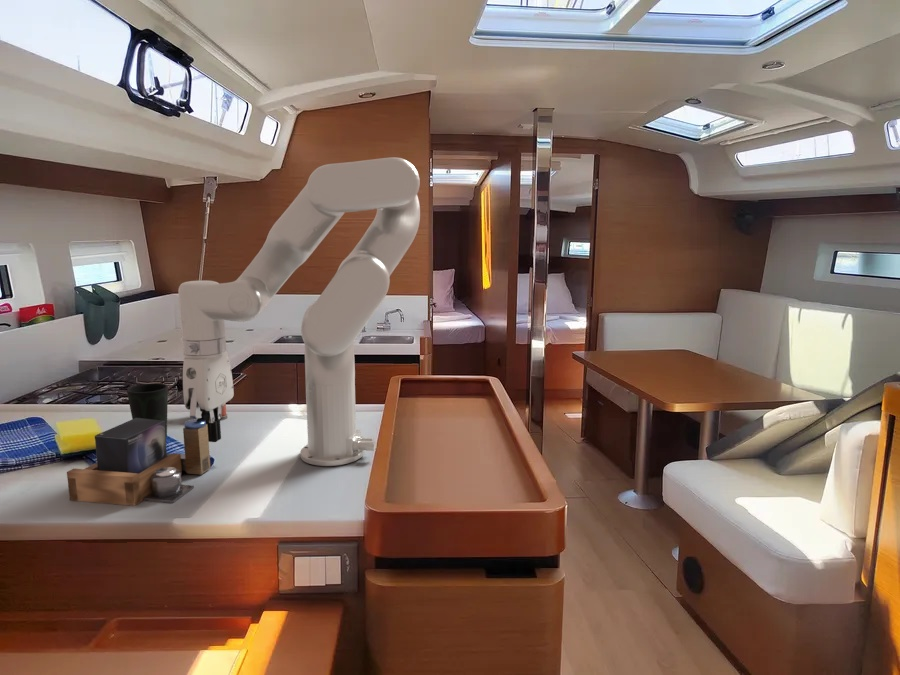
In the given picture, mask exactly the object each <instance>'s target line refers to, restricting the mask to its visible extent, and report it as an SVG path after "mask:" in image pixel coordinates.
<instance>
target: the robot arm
mask: <svg viewBox="0 0 900 675" xmlns="http://www.w3.org/2000/svg"><path fill="white" fill-rule="evenodd" d="M420 181H421V180H420V175H419V172H418V170H417V169H416V167H415V166H414V164H412V163H411V162H410V161H408V159H407V160H406V159H404V158H402V157H394V156H393V157H391V156H389V157H383V158H381V157H380V158H375V159H374V158H373V159H365V160H358V161H357V160H355V161H349V162H348V161H347V162H338V163H327V164H323V165H321V166H318V167H317V168H315V169H314V170H313V171H312V173H310V175H309V177H308V179H307V183H306V184H305V186H304V187H303V188H302V189H301V191H300V192H299V193H298V194H297V196H296V197H295V198H294V199H293V201H292V202H291V203H290V204H289V205H288V207H287V208H286V209H285V211H284V212H283V213H282V214H281V216H280V217H279V218H278V219H277V220H276V221H275V222H274V223H273V225H272V227H271V228H270V230H269V232H268V234H267V237H266V240H265V242H264V243H263V246H262V247H261V248H260V250H259V252H258V253H257V254H256V255H255V257H254V258H253V259H252V260H251V262H250V263H249V265H247V266H246V268H245V269H244V271H243V272H242V273H241V274H240V276H238V278H237V279H236V280H233V281H231V282H230V281H229V282H223V283H222V282H221V283H219V282H217V281H214V280H190V281H184V282H182V283H181V284H180V285H179V286H178V294H177V295H178V305H179V306H178V307H179V315H180V316H179V317H180V318H179V319H180V327H181V328H180V329H181V340H182V341H181V343H182V354H183V365H182V393H183V394H182V395H183V402H184V403H183V404H184V407H185V408H186V409H187V410H188V411H189V417H190V419H204V420H206V424H207V426H208V440H209V443H217V442H218V441H220V440H221V439H222V432H221V431H222V430H221V420H218V419H220V418H221V409H222V407H223V406H224V404H225V403H228V402H229V401H231V400H232V399H233V397H234V395H235V393H234V392H235V391H234V381H233V374H232V372H233V371H232V366H231V362H230V357H229V353H228V350H227V344H226V339H227V338H226V329H225V328H226V327H225V321H232V322H237V323H238V322H240V323H241V322H243V323H244V322H248V321H252V320H254V319H255V318H257V317H258V316H259V315H260V314H261V312H262V311H263V310H265V308H266V307H267V305H268V304H269V303H270V302H271V301H272V299H273V298H274V297H275V296H276V294H277V293H278V292H279V290H280V289H281V288H282V287H283V285H284V284H285V283H286V282H287V281H288V279H290V277H291V276H292V274H294V273H295V271H297V269H298V268H300V266H302V265H303V264H304V263H305V262H307V260H308V259H309V257H310V256H311V255H312V254H313V252H314V251H315V250H316V249H317V248H318V246H319V245H320V244H321V242H322V241H323V240H325V239H326V238H325V237H326V236H328V234H329V233H330V231H331V230H332V229H333V228H334V226H336V224H338V222H339V221H340V219H341V218H342V217H343V215H344V214H345V213H352V212H353V213H355V212H356V213H357V212H363V211H371V210H376V214H375V217H374V219H373V221H372V222H371V224H370V225H369V226H368V228H367V230H366V231H365V233H364V234H363V236H362V237H361V239H360V240H359V241H358V242H357V244H356V245H355V247H354V248H353V249H352V251H351V252H349V254H348V255H347V256H346V257H345V258H344V259H343V260H342V261H341V263H340V265H338V269H337V271H336V273H335V274H334V276H333V277H332V278H331V280H330V281H329V283H328V284H327V286H326V287H325V289H324V290H323V291H322V292H321V294H320V295H319V297H318V298H317V299H316V300H315V301H313V302H312V303H311V304H310V305H309V306H308V307H307V309H306V311H305V312H304V314H303V317H302V320H301V326H300V334H301V338H302V341H303V343H304V369H305V370H304V372H305V373H304V374H305V398H306V399H305V401H306V403H305V404H306V422H307V423H306V426H307V429H306V430H307V444H306V445H304V446H303V447H302V448H301V449H300V451H299V453H300V459H301V460H302V461H303V462H305V463H306V464H310V465H314V466H317V467H318V466H319V467H320V466H321V467H333V466H342V465H347V464H350V463H351V464H352V463H353V462H355V461H357V460H359V459H360V458H362V457H363V456H364V455H365V451H367V452H376V450H375V447H376V448H377V441H375V439H374V437H363V436H362V434H361V429H357V421H356V420H357V418H356V417H357V415H356V385H355V384H356V380H355V379H356V369H355V367H356V366H355V364H356V363H355V362H356V361H355V340H356V339H357V337H358V336H360V334H361V332H362V331H363V330H364V328H365V326H366V325H367V324H368V323H369V321H370V319H371V318H372V317H373V316H374V315H375V313H376V312H377V311H378V309H379V307H380V305H382V303H383V301H384V300H385V298H386V295H387V293H388V291H389V288H390V282H391V280H390V279H391V278H390V276H391V275H392V274H393V272H394V270H395V269H396V268H397V267H398V265H399V264H400V262H401V260H402V259H403V257H404V256H405V255H406V253H407V251H408V250H409V248H410V246H412V243H413V241H414V240H415V237H416V235H417V233H418V231H419V226H420V222H421V220H420V219H421V207H420V200H419V196H418V194H419V190H420V185H421V184H420V183H421V182H420Z"/></svg>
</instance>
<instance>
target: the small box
mask: <svg viewBox="0 0 900 675" xmlns="http://www.w3.org/2000/svg"><path fill="white" fill-rule="evenodd" d="M94 441H95V442H94V443H95V454H96V463H97V467H98V470H100V471H113V472H126V473H138V474H139V473H141V472H142V471H144V470H146V469H147V468H149V467H151V466H152V465H154V464H156V463H157V462H159V461H161V460H162V459H164V458H166V457H167V453H168V452H167V442H166V437H165V421H163V420H152V419H143V418H134V419H131V420H130V419H129V420H128V421H125V422H123V423H121V424H118V425H115V426H113V427H111V428H109V429H107V430H105V431H103V432H102V431H101V432H100V433H97V434H95V435H94Z"/></svg>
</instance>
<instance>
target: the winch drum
mask: <svg viewBox="0 0 900 675" xmlns="http://www.w3.org/2000/svg"><path fill="white" fill-rule="evenodd" d="M151 483H152V492H151V493H150V494H148V495H147V496H145V497H144V498H143V501H144V502H145V501H146V502H147V501H148V502H155V503H156V502H157V503H158V502H159V503H167V504H168V503H170V504H174V503H175V502H176V501H178V500H179V499H180V498H182V497H183V496H186V494H188V493H189V492H190V491H191V490H193V489H194V488H195V487H194V485H191V484H190V485H188V484H182V475H181V471H180V470H178V469H176V468H174V467H165V468H161V469H158V470H157V471H156V472H155V473H153V474H152V475H151ZM143 501H142V502H143Z"/></svg>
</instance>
